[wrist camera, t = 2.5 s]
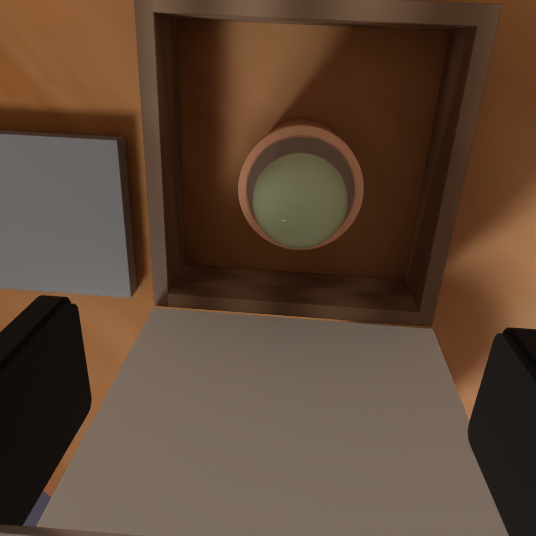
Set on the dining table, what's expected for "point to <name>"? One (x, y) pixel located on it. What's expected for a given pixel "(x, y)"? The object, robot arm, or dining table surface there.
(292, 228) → the terracotta pot
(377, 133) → the dining table surface
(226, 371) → the frame lid
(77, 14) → the dining table surface
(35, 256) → the slate tile
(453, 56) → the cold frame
